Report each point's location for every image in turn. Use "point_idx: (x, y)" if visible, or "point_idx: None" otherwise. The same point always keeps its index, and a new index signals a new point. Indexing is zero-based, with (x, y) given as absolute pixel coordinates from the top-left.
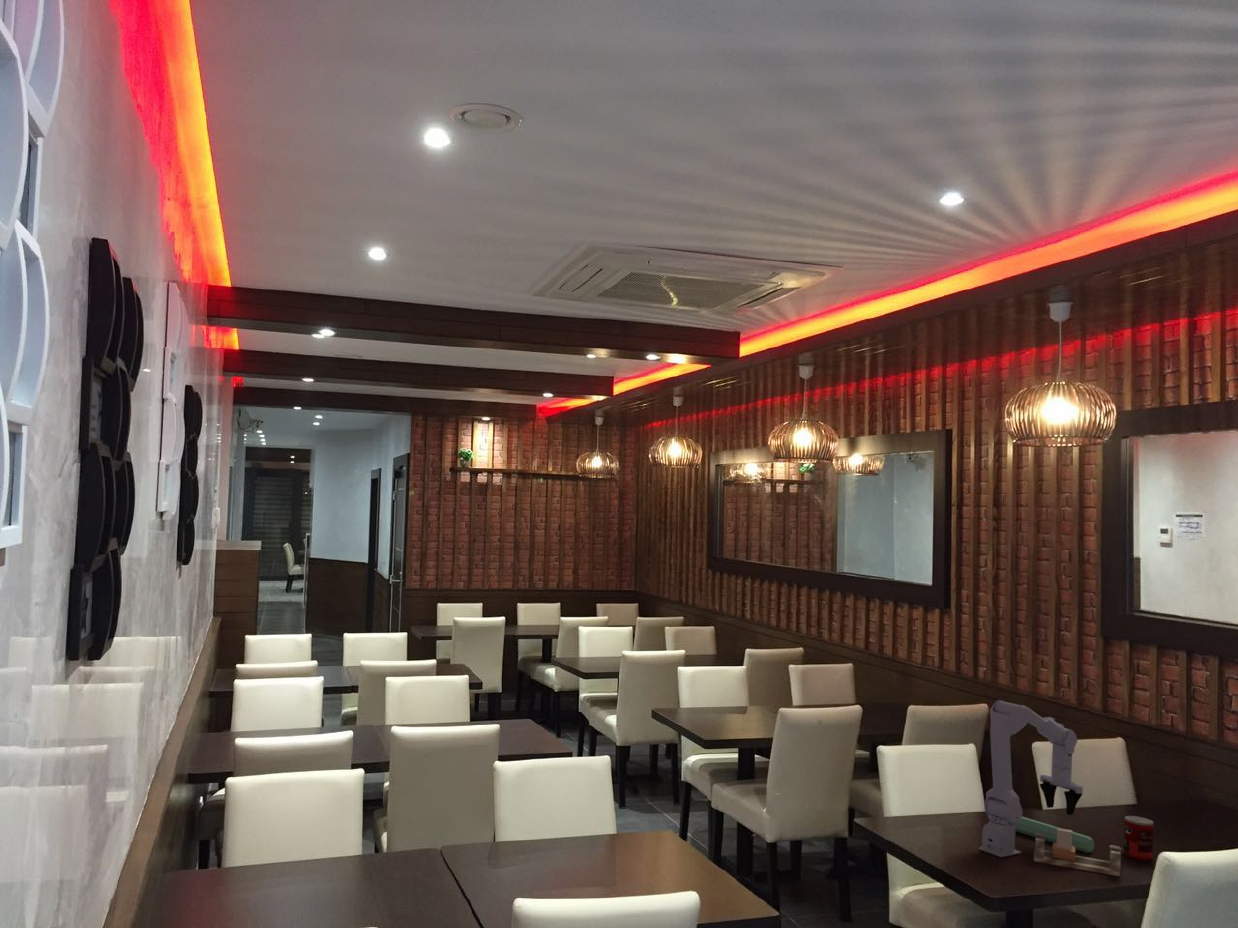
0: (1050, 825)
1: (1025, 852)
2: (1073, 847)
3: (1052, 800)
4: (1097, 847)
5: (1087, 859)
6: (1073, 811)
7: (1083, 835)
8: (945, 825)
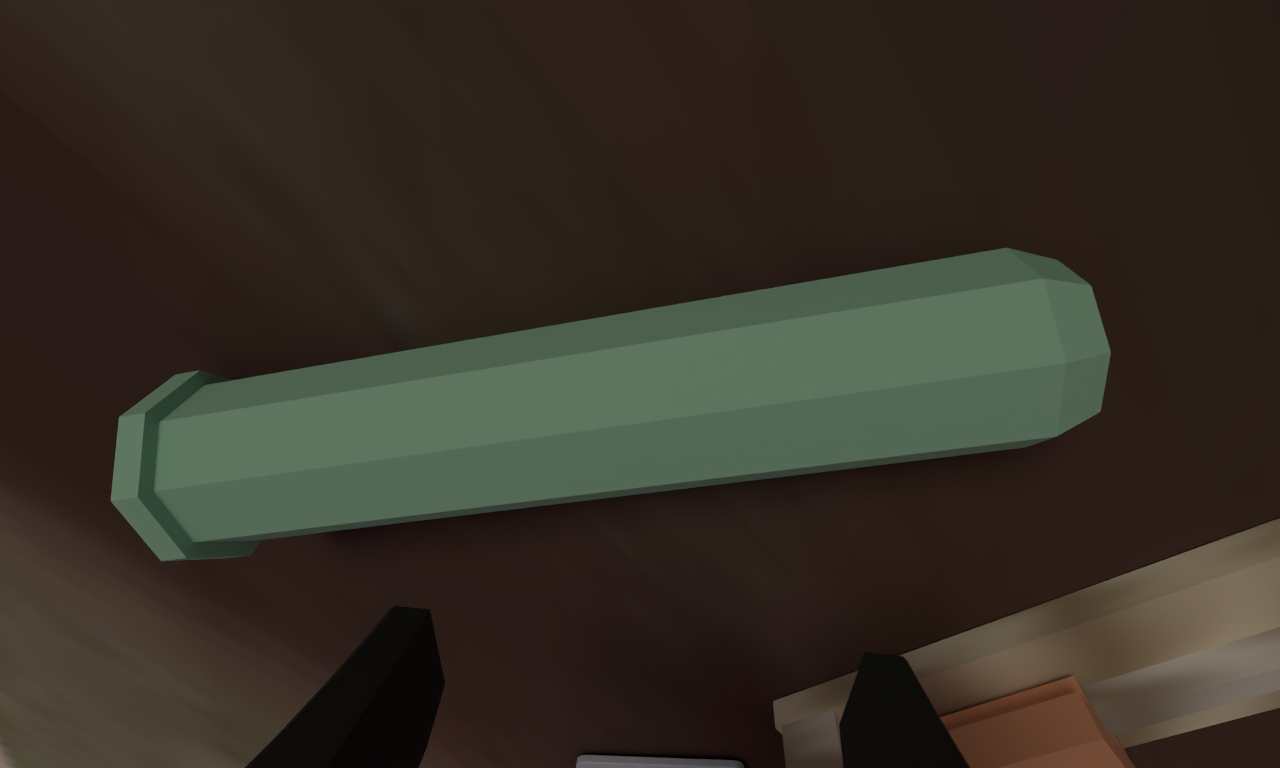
0: (527, 454)
1: (734, 724)
2: (1102, 761)
3: (368, 743)
4: (987, 13)
5: (1211, 698)
6: (927, 710)
7: (986, 395)
8: (173, 721)
